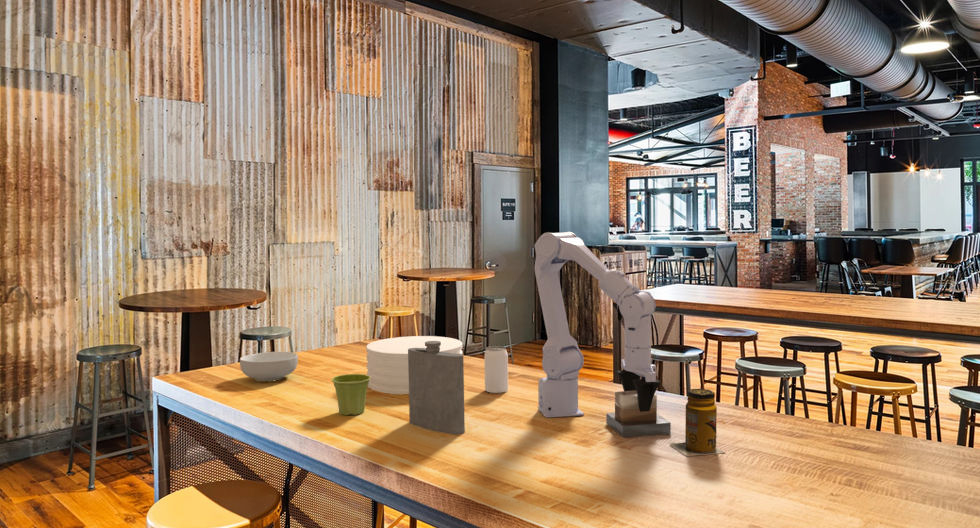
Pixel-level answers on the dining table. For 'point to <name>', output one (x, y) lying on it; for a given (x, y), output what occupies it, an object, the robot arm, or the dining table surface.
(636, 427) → the stand
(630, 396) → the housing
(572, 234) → the robot arm
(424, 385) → the hip flask
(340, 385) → the plant pot
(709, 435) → the condiment
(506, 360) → the can
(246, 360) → the cereal bowl
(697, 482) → the dining table surface
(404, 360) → the plate stack
